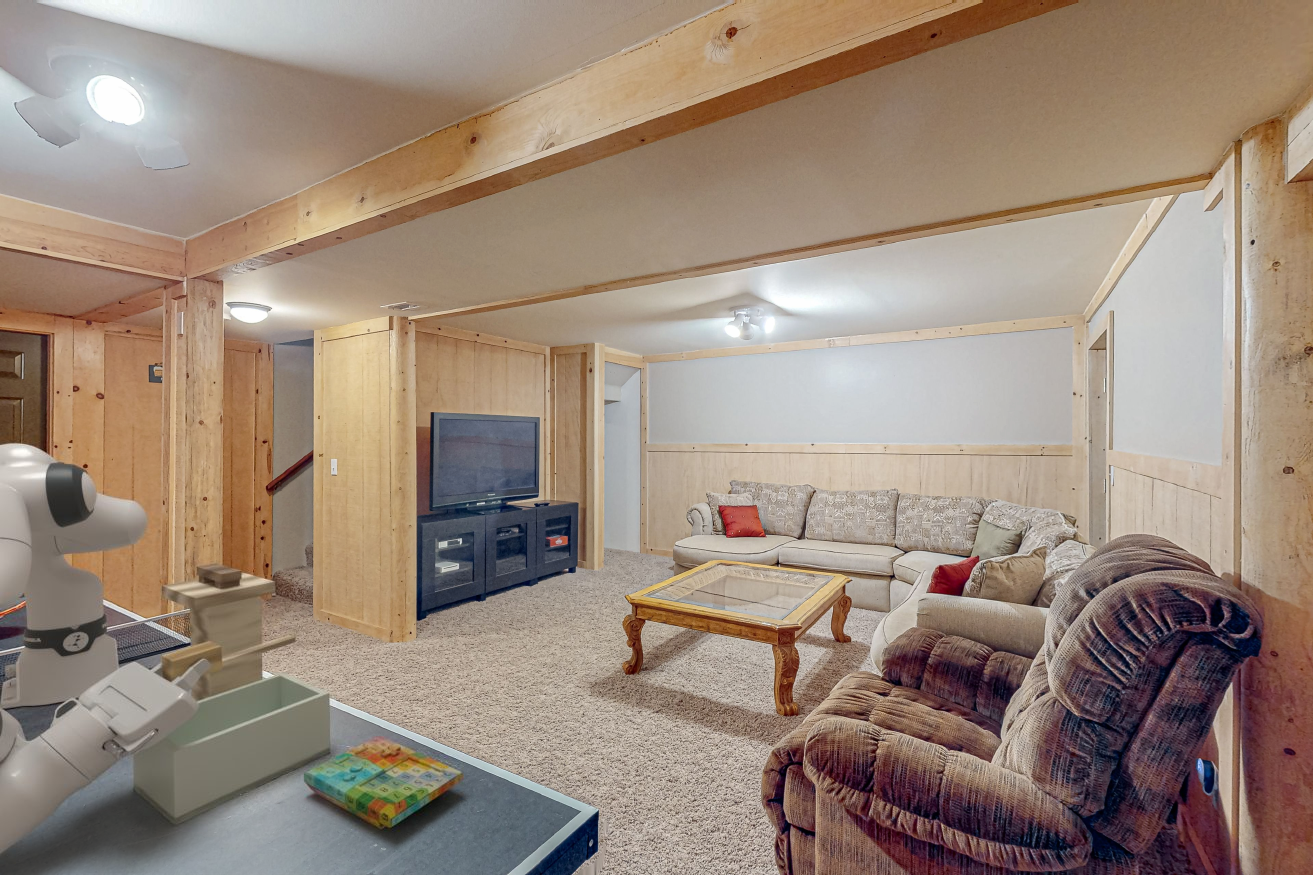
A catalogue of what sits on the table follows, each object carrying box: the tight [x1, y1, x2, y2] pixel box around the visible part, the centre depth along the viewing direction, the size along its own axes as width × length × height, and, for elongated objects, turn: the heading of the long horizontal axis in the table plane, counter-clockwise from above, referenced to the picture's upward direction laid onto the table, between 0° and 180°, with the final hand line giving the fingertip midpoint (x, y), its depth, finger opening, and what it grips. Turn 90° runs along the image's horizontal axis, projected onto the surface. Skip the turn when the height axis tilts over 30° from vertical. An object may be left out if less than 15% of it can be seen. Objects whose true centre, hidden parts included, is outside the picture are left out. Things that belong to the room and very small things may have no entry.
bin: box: [132, 672, 331, 826], centre depth 93 cm, size 15×21×10 cm
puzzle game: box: [303, 735, 464, 830], centre depth 86 cm, size 12×5×20 cm
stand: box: [161, 563, 276, 702], centre depth 105 cm, size 14×12×29 cm
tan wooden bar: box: [160, 634, 297, 682], centre depth 92 cm, size 4×17×4 cm, turn 148°
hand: (199, 657), depth 88 cm, fingers closed on tan wooden bar, 4 cm apart
